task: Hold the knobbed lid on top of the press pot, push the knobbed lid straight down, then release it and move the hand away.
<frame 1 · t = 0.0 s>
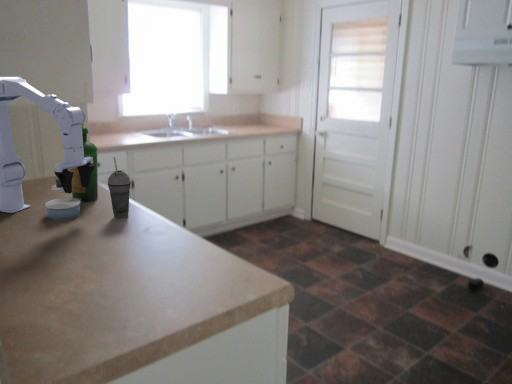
hand: (76, 189, 137), 10 cm above the table, tool pointing down, fingers open, 7 cm apart
bottle: (85, 199, 162), on the table
knobbed lid: (61, 185, 142), point 10 cm above the table, slide at 3.5 cm
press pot: (64, 215, 144), on the table
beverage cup: (121, 217, 144), on the table
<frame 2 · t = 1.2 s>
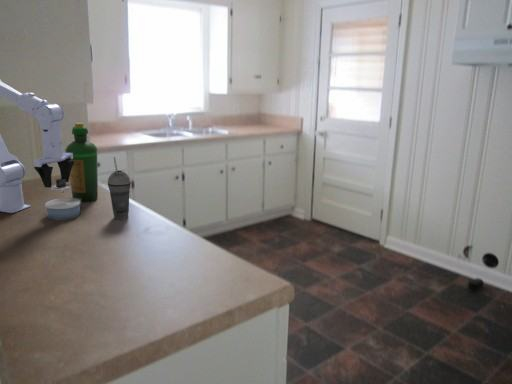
hand: (56, 184, 142), 10 cm above the table, tool pointing down, fingers open, 7 cm apart
nothing on the table moved.
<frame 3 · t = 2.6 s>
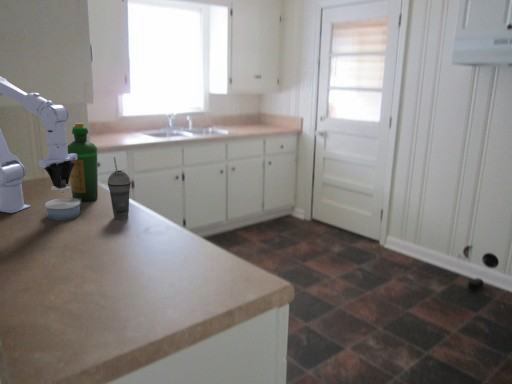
hand: (61, 185, 142), 10 cm above the table, tool pointing down, fingers closed on knobbed lid, 3 cm apart
knobbed lid: (61, 185, 142), point 10 cm above the table, slide at 3.5 cm, touching gripper
everything else where it was.
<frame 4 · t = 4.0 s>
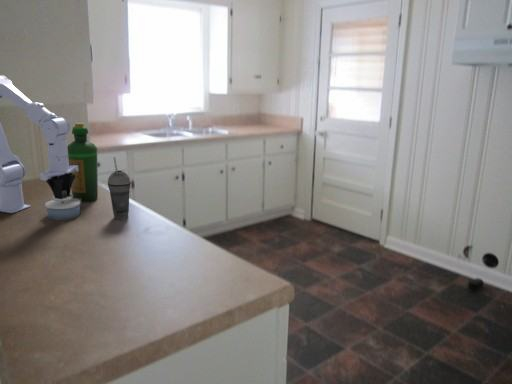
hand: (62, 197, 143), 6 cm above the table, tool pointing down, fingers closed on knobbed lid, 3 cm apart
knobbed lid: (62, 196, 143), point 6 cm above the table, slide at 0.0 cm, touching gripper, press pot
everything else where it was.
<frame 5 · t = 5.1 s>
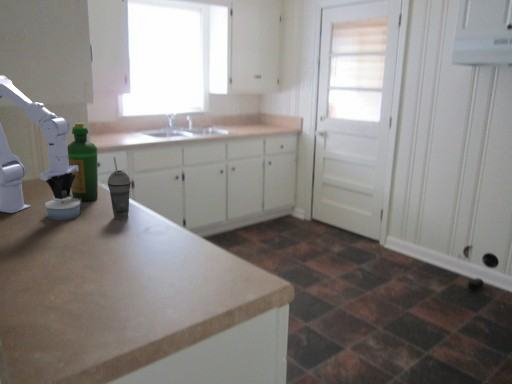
hand: (62, 197, 143), 6 cm above the table, tool pointing down, fingers closed on knobbed lid, 3 cm apart
knobbed lid: (62, 196, 143), point 6 cm above the table, slide at 0.0 cm, touching gripper, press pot
everything else where it was.
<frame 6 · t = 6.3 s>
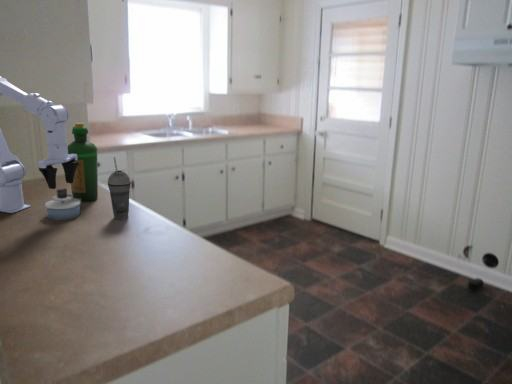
hand: (61, 185, 142), 10 cm above the table, tool pointing down, fingers open, 7 cm apart
knobbed lid: (62, 196, 143), point 7 cm above the table, slide at 0.0 cm
everything else where it was.
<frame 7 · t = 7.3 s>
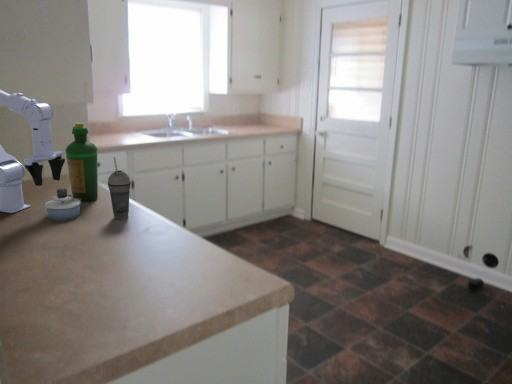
hand: (47, 182, 143), 10 cm above the table, tool pointing down, fingers open, 7 cm apart
nothing on the table moved.
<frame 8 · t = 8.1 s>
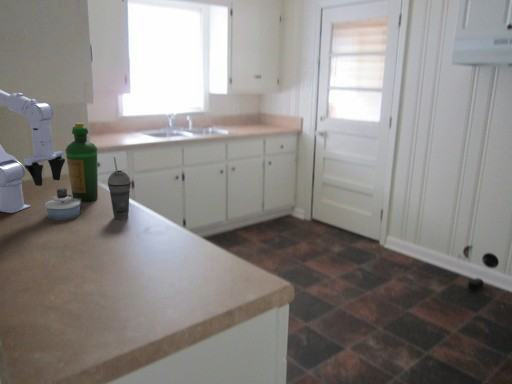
hand: (47, 182, 143), 10 cm above the table, tool pointing down, fingers open, 7 cm apart
nothing on the table moved.
at the end: knobbed lid slide at 0.0 cm; the gripper is holding nothing; bottle moved 0.2 cm from its start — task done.
